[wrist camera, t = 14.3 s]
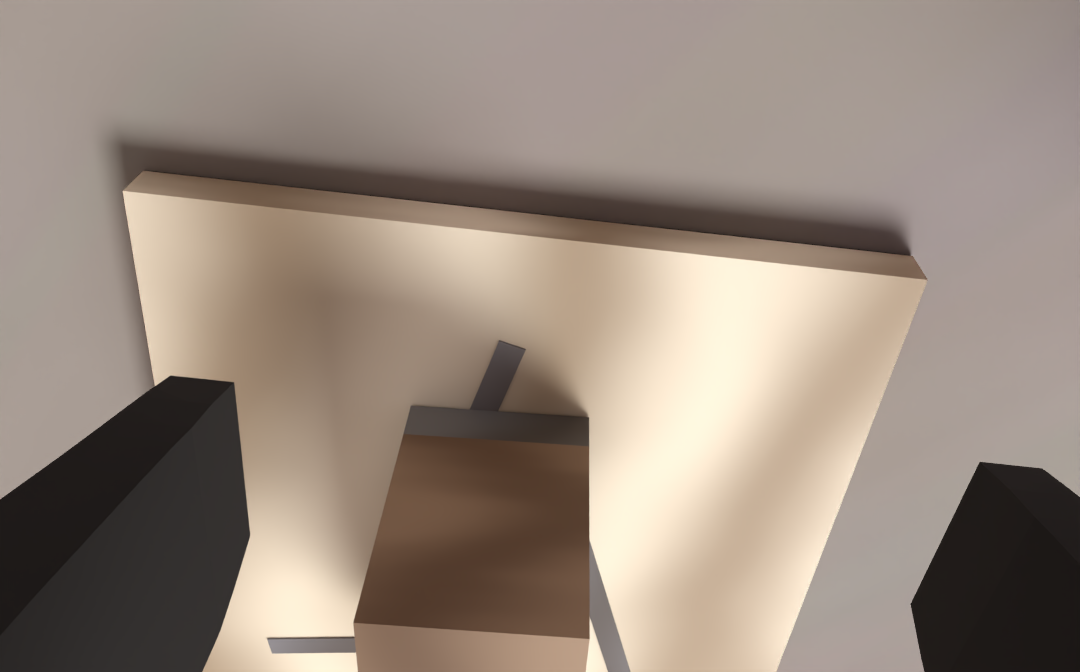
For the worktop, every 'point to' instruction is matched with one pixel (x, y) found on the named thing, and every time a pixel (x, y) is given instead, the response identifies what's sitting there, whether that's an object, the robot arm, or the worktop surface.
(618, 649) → the board
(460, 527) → the block
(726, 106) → the worktop surface
